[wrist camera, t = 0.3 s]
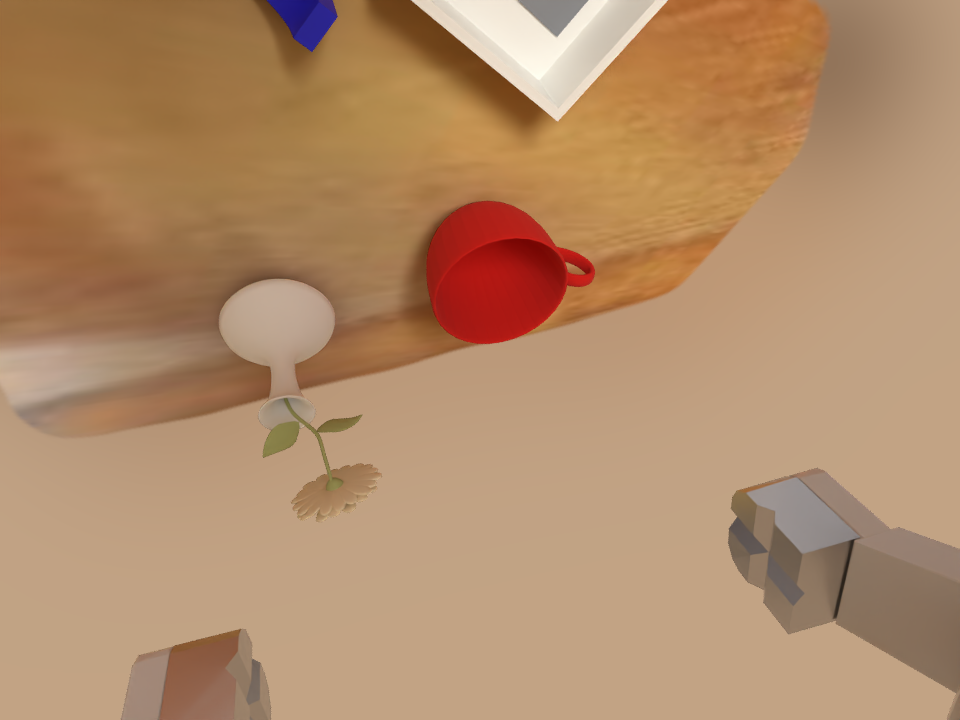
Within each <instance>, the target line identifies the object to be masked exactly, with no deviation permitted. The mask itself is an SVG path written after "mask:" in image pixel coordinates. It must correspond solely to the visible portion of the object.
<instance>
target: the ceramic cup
mask: <svg viewBox="0 0 960 720" xmlns="http://www.w3.org/2000/svg"><path fill="white" fill-rule="evenodd" d="M565 262H568V263H571V264H573V265H575V266H577V267H578V268H580V269H581V270H582V271H584V272H585V273H586V274H585V275H576V274H571V273H569V272H568V270H567V267H566V264H565ZM426 275H427V285H428V291H429V296H430V300H431V304H432V308H433V312H434V314H435V317H436V318H437V320H438V322H439V324H440V325H441V326H442V327H443V328H444V329H445V330H446V331H447V332H448V333H449V334H451V335H452V336H454V337H456V338H458V339H461V340H463V341H466V342H471V343H477V344H492V343H499V342H504V341H508V340H511V339H515V338H517V337H519V336H522V335H524V334H526V333H528V332H530V331H531V330H533V329H535V328H536V327H538V326H539V325H540V324H542V323H543V322H544V321H545V320H547V319H548V317H549V316H550V315H551V314H552V313H553V312H554V311H555V310H556V308H557V307H558V305H559V304H560V302H561V301H562V299H563V296H564V294H565V292H566V288H567V285H568V286H574V287H583V286H586V285H589V284H590V283H591V282H592V280H593V278H594V275H595V269H594V266H593V265H592V263H591V262H590V261H589V260H588V259H586V258H585V257H583V256H582V255H580V254H578V253H576V252H573V251H571V250H568V249H564V248H560V247H556V246H555V244H554V243H553V241H552V240H551V238H550V237H549V235H548V234H547V233H546V231H545V230H544V229H543V228H542V227H541V226H540V225H539V224H538V223H537V222H536V221H535V220H534V219H533V218H532V217H531V216H529V215H528V214H527V213H525V212H524V211H522V210H520V209H518V208H516V207H514V206H512V205H509V204H505V203H502V202H495V201H482V202H475V203H471V204H468V205H465V206H463V207H461V208H459V209H458V210H456V211H455V212H453V213H452V214H451V215H449V216H448V217H447V218H446V219H445V220H444V221H443V223H442V224H441V225H440V226H439V228H438V229H437V231H436V233H435V235H434V237H433V239H432V241H431V243H430V247H429V251H428V255H427V274H426Z"/></svg>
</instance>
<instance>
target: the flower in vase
mask: <svg viewBox="0 0 960 720" xmlns="http://www.w3.org/2000/svg"><path fill="white" fill-rule="evenodd" d="M335 321H336V320H335V312H334V309H333V307H332V305H331V303H330V302H329V300H328V299H327V298H326V297H325V296H324V295H323V294H322V293H321V292H320V291H318V290H316V289H315V288H313V287H311V286H309V285H307V284H305V283H302V282H299V281H295V280H290V279H267V280H262V281H258V282H255V283H252V284H250V285H247V286H245V287H244V288H242V289H240V290H239V291H238V292H236V293H235V294H233V295H232V296H231V297H230V298H229V299H228V300H227V302H226V303H225V304H224V306H223V308H222V309H221V312H220V315H219V330H220V333H221V335H222V337H223V339H224V341H225V342H226V344H227V345H228V347H229V348H230V349H231V350H232V351H233V352H234V353H236V354H237V355H238V356H240V357H242V358H244V359H246V360H248V361H250V362H253V363H256V364H260V365H264V366H270V369H271V391H270V395H269V398H268V400H267V402H266V403H264V404H263V406H262V407H261V408H260V410H259V413H258V419H259V421H260V423H261V424H262V425H263V426H264V427H266V428H267V429H270V430H272V431H271V432H270V434H269V435H268V437H267V439H266V442H265V445H264V450H263V458H264V457H266V456H269V455H272V454H274V453H277V452H280V451H282V450H285V449H287V448H289V447H291V446H292V445H293V444H294V443H295V442H296V439H297V436H298V433H299V429H301V428H303V427H305V426H306V427H307V428H309V429H310V430H311V431H312V432H313V433H314V434H315V436H316V437H317V439H318V441H319V444H320V448H321V452H322V455H323V459H324V463H325V466H326V469H327V474H324V475H321V476H320V477H318V478H317V479H316V481H312V482H309V483H307V484H306V485H305V486H304V487H303V490H301V491H300V492H299V493H298V494H297V497H296V498H294V499H293V500H292V502H291V503H292V504H295V505H294V507H293V510H294V511H297V510H299V511H298V513H297V515H298V516H297V517H298V518H300V519H301V520H302V521H303V520H306V519H308V518H309V517H311V516H313V515H315V514H316V513H317V512H318V511H319V512H318V514H317V517H316V521H317V522H323V521H325V520H326V519H327V518H328V516H330V517H336V516H338V515H339V514H340V512H341V510H342V511H344V512H346V513H350V512H352V511H354V510H355V509H356V502H363V501H365V500H366V499H367V495H368V494H370V493H372V492H374V491H376V490H377V487H376V486H375V485H376V484H377V482H376V481H375V480H378V479H380V478H381V477H382V474H381V473H377V471H378V469H377V468H372V467H373V465H370V464H367V465H363V464H356V465H354V466H352V467H350V466H349V465H348V466H344V467H342V468H340V469H339V470H338V469H334V470H331V471H330V467H329V464H328V461H327V457H326V454H325V450H324V446H323V443H322V440H321V437H320V435H319V433H318V432H339V431H343V430H346V429H348V428H350V427H352V426H353V425H355V424H356V423H357V422H358V421H359V419H360V418H361V416H362V415H359V416H356V417H353V418H346V419H345V418H344V419H332V420H329V421H327V422H325V423H324V424H323V425H321V426H320V427H319V428H318V430H317V431H316V430H315V429H314V428H313V427H312V426H311V425H310V424H309V423H310V422H311V421H312V420H313V418H314V417H315V414H316V409H315V407H314V405H313V404H312V403H311V401H309V400H308V399H306V398H305V397H304V396H303V395H302V393H301V391H300V389H299V387H298V383H297V379H296V373H295V364H297V363H300V362H302V361H305V360H306V359H308V358H310V357H312V356H314V355H315V354H317V353H318V352H319V351H320V350H322V349H323V348H324V346H325V345H326V344H327V343H328V341H329V340H330V338H331V336H332V333H333V330H334V327H335Z"/></svg>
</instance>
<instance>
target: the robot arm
mask: <svg viewBox="0 0 960 720" xmlns="http://www.w3.org/2000/svg"><path fill="white" fill-rule="evenodd" d="M731 509H732V511H733V512H734V513H735V514H736V515H737V518H736V520H735V521H734V522H733V524H732V525H731V526H730V528H729V539H728V544H729V548H730V551H731V555H732V559H733V561H734V563H735V565H736V566H737V568H738V570H739V572H740V573H741V574H742V576H743V577H744V578H745V580H746V581H747V582H748V583H750V584H753V585H755V586H757V587H759V588H761V589H763V590H764V602H763V603H764V604H765V605H766V606H767V608H768V609H769V610H770V611H771V613H772V614H773V615H774V617H775V618H776V619H777V620H778V622H779V623H780V624H781V625H782V627H783V628H784V629H785V630H786V632H787V633H788V634H791V633H795V632H798V631H801V630H805V629H808V628H812V627H815V626H819V625H822V624H826V623H829V622H833V621H836V624H837V625H839V626H841V627H843V628H844V629H846V630H848V631H849V632H851V633H853V634H855V635H856V636H858V637H860V638H862V639H864V640H865V641H867V642H869V643H870V644H872V645H874V646H876V647H877V648H879V649H881V650H882V651H884V652H886V653H888V654H889V655H891V656H893V657H894V658H896V659H898V660H900V661H901V662H903V663H905V664H907V665H909V666H910V667H912V668H914V669H915V670H917V671H919V672H921V673H922V674H924V675H926V676H927V677H929V678H931V679H933V680H934V681H936V682H938V683H939V684H941V685H943V686H945V687H946V688H948V689H950V690H952V691H953V692H955V693H956V695H955V698H954V701H953V704H952V706H951V708H950V711H949V714H948V717H947V720H960V549H958V548H955V547H952V546H950V545H947V544H944V543H941V542H938V541H936V540H933V539H930V538H927V537H925V536H922V535H919V534H916V533H913V532H911V531H908V530H905V529H902V528H899V527H898V528H895V529H890V528H889V527H888V526H886V525H885V524H884V523H883V522H882V521H881V520H880V519H879V518H877V517H876V516H875V515H874V514H873V513H872V512H871V511H869V510H868V509H867V508H866V507H865V506H864V505H863V504H862V503H860V502H859V501H858V500H857V499H856V498H855V497H854V496H853V495H851V494H850V493H849V492H848V491H847V490H846V489H845V488H844V487H842V486H841V485H840V484H839V483H838V482H837V481H836V480H834V479H833V478H832V477H831V476H830V475H829V474H828V473H827V472H825V471H824V470H821V469H818V468H815V469H811V470H808V471H804V472H801V473H797V474H794V475H790V476H789V477H783V478H779V479H775V480H772V481H769V482H765V483H762V484H758V485H755V486H751V487H748V488H745V489H741V490H738V491H736V493H735V494H734V496H733V497H732V504H731ZM121 720H271V705H270V697H269V690H268V684H267V680H266V677H265V673H264V671H263V668H262V666H261V663H260V662H258V661H256V660H254V659H252V642H251V640H250V638H249V636H248V634H247V631H246V630H245V629H239V630H235V631H231V632H227V633H223V634H219V635H215V636H211V637H207V638H203V639H199V640H196V641H191V642H188V643H183V644H179V645H175V646H173V647H169V648H166V649H162V650H158V651H154V652H150V653H146V654H142V655H139V656H138V657H137V659H136V661H135V662H134V664H133V666H132V670H131V674H130V679H129V684H128V689H127V693H126V698H125V703H124V708H123V712H122V717H121Z"/></svg>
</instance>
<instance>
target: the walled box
mask: <svg viewBox="0 0 960 720" xmlns="http://www.w3.org/2000/svg"><path fill="white" fill-rule="evenodd" d="M411 1H413V2H414V3H415V4H416V5H417V6H419V7H420V8H421V9H422V10H423V11H425V12H426V13H427V14H428V15H429V16H431V17H432V18H433V19H434V20H435V21H437V22H438V23H439V24H440V25H442V26H443V27H444V28H445V29H446V30H448V31H449V32H450V33H451V34H452V35H454V36H455V37H456V38H457V39H458V40H460V41H461V42H462V43H463V44H465V45H466V46H467V47H468V48H469V49H471V50H472V51H473V52H474V53H475V54H477V55H478V56H479V57H480V58H481V59H483V60H484V61H485V62H486V63H487V64H489V65H490V66H491V67H492V68H494V69H495V70H496V71H497V72H498V73H500V74H501V75H502V76H503V77H504V78H506V79H507V80H508V81H509V82H510V83H512V84H513V85H514V86H515V87H516V88H518V89H519V90H520V91H521V92H523V93H524V94H525V95H526V96H527V97H529V98H530V99H531V100H532V101H533V102H535V103H536V104H537V105H538V106H539V107H541V108H542V109H543V110H544V111H546V112H547V113H548V114H549V115H550V116H552V117H553V118H554V119H555V120H556V121H559V119H560V118H561V117H562V116H563V115H564V114H565V113H566V112H567V111H568V110H569V108H570V107H571V106H572V105H573V104H574V103H575V102H576V101H577V100H578V99H579V97H580V96H581V95H582V94H583V93H584V92H585V91H586V90H587V89H588V88H589V86H590V85H591V84H592V83H593V82H594V81H595V80H596V79H597V78H598V77H599V75H600V74H601V73H602V72H603V71H604V70H605V69H606V68H607V67H608V65H609V64H610V63H611V62H612V61H613V60H614V59H615V58H616V57H617V56H618V54H619V53H620V52H621V51H622V50H623V49H624V48H625V47H626V46H627V45H628V43H629V42H630V41H631V40H632V39H633V38H634V37H635V36H636V35H637V34H638V32H639V31H640V30H641V29H642V28H643V27H644V26H645V25H646V24H647V23H648V21H649V20H650V19H651V18H652V17H653V16H654V15H655V14H656V13H657V12H658V10H659V9H660V8H661V7H662V6H663V5H664V4H665V3H666V2H667V1H668V0H411Z"/></svg>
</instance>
